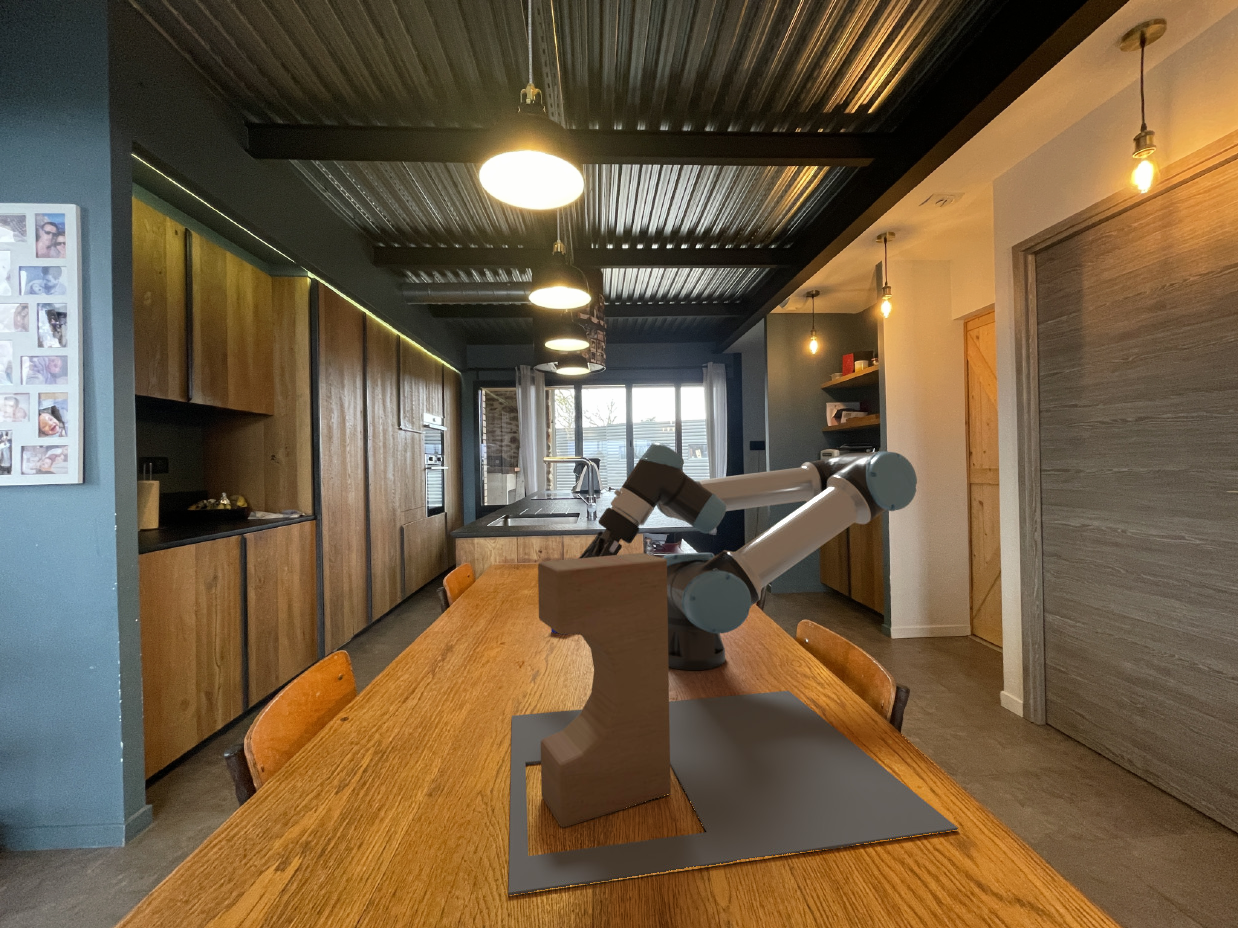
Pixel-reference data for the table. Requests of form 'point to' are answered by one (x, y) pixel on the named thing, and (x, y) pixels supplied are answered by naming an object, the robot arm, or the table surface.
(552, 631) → the rubik's cube
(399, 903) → the table surface
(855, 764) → the mat
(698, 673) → the table surface
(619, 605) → the decorative block
